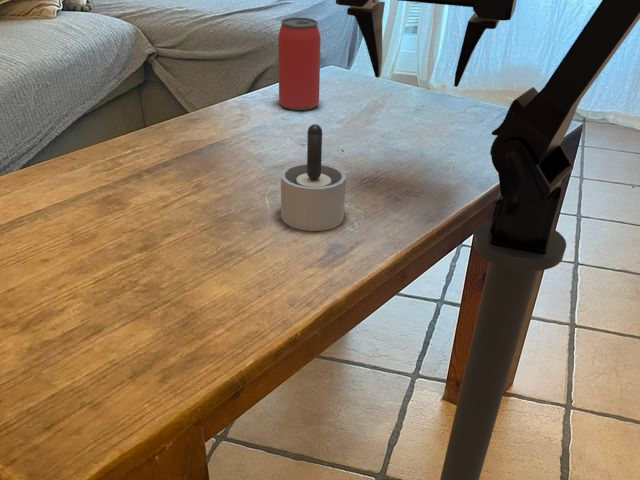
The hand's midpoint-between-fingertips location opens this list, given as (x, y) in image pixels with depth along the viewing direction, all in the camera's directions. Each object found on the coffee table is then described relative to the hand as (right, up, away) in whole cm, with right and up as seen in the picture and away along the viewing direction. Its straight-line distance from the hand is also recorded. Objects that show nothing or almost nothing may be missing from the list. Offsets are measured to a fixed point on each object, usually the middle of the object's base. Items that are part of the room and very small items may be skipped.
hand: (416, 81), depth 76 cm
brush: (-12, -15, +2) cm, 19 cm away
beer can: (-15, +13, +33) cm, 38 cm away
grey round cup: (-12, -15, +2) cm, 19 cm away
